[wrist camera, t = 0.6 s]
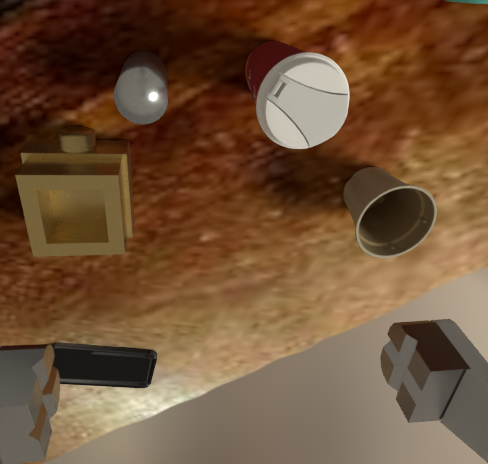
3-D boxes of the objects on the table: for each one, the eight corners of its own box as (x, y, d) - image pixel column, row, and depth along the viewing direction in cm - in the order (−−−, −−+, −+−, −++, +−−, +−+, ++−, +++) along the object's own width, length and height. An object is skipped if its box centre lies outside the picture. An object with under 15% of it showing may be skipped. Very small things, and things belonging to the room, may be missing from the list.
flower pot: (411, 195, 57) (447, 229, 50) (349, 232, 58) (375, 271, 51) (385, 139, 52) (421, 169, 45) (318, 182, 54) (342, 217, 46)
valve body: (28, 124, 45) (4, 154, 38) (128, 126, 46) (122, 155, 40) (48, 231, 51) (31, 272, 45) (135, 229, 53) (131, 269, 46)
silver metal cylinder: (120, 49, 42) (111, 69, 35) (166, 52, 43) (167, 72, 35) (124, 95, 44) (116, 123, 37) (167, 96, 45) (168, 124, 38)
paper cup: (220, 82, 45) (240, 125, 34) (261, 12, 42) (298, 34, 31) (280, 119, 48) (317, 170, 37) (321, 56, 45) (375, 91, 34)
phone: (149, 388, 68) (46, 383, 64) (149, 382, 69) (48, 377, 65) (158, 353, 64) (49, 345, 60) (158, 347, 65) (51, 339, 61)
